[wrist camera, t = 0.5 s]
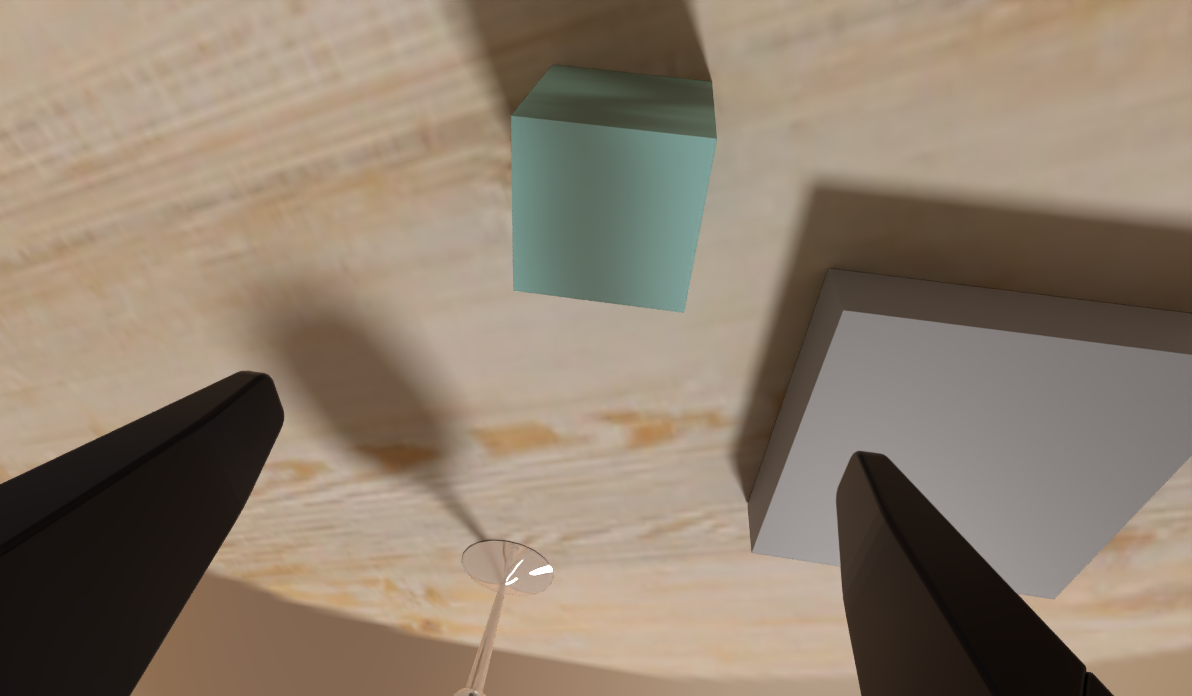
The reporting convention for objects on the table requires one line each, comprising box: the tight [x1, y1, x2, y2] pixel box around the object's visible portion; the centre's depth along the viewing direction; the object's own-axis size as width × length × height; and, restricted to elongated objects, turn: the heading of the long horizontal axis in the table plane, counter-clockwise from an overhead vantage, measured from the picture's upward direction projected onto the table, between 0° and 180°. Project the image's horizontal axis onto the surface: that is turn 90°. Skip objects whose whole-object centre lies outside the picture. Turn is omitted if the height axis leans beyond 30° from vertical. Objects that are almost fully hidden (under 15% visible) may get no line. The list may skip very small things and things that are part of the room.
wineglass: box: [453, 541, 553, 696], centre depth 28 cm, size 7×7×12 cm
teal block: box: [511, 65, 717, 313], centre depth 17 cm, size 4×4×5 cm
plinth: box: [748, 268, 1192, 599], centre depth 22 cm, size 12×12×2 cm
